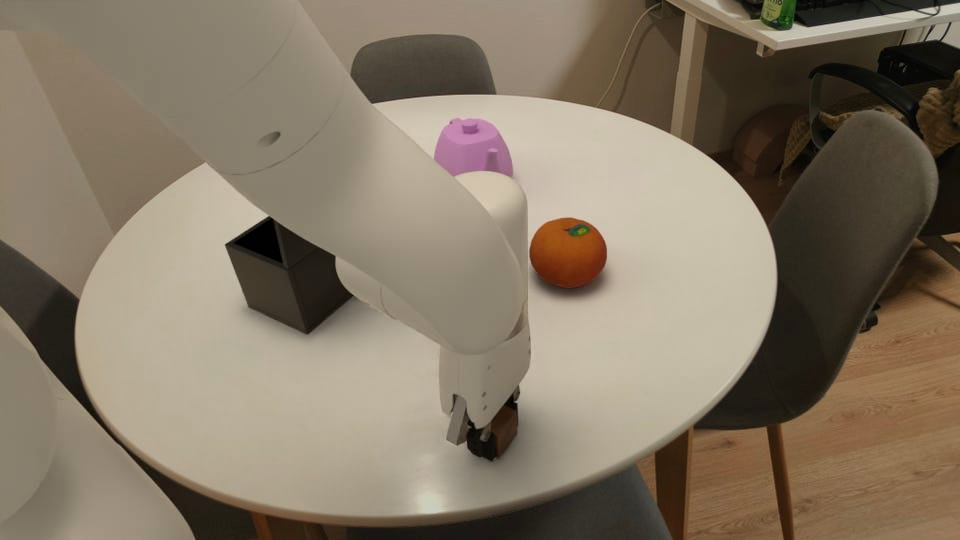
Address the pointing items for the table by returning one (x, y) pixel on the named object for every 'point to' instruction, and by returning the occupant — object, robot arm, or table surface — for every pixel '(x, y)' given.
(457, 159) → the teapot
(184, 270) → the table surface
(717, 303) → the table surface
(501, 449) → the block
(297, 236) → the box lid
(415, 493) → the table surface
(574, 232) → the fruit
